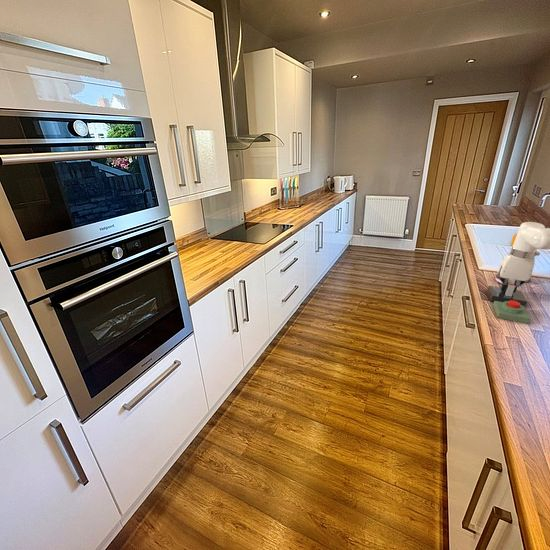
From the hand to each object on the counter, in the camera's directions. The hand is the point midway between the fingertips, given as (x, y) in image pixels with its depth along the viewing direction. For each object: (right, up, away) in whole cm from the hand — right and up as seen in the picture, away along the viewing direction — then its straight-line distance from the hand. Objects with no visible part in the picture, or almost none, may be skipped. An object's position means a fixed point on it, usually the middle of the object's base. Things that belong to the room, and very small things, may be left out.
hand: (507, 292), depth 125 cm
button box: (-6, -8, -9) cm, 13 cm away
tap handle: (0, 0, 0) cm, 0 cm away
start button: (-6, -5, -11) cm, 13 cm away
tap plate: (0, -3, +1) cm, 3 cm away
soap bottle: (+12, +4, +16) cm, 21 cm away
